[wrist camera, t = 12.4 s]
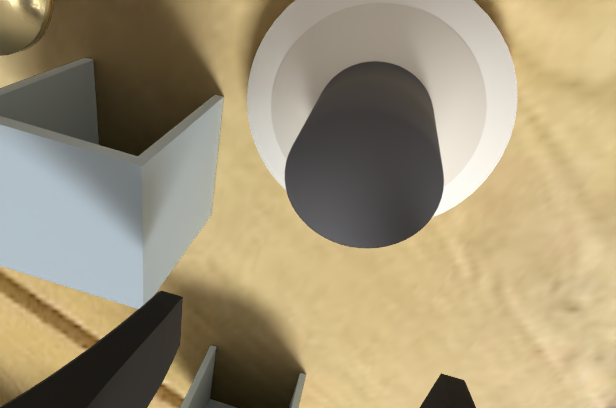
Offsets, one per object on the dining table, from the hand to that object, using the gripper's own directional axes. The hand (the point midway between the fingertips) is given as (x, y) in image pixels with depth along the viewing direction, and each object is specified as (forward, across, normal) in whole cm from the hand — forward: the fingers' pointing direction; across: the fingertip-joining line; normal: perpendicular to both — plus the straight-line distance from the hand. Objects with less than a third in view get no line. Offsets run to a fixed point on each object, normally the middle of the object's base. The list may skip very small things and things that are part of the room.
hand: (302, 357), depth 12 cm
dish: (+8, 0, -5) cm, 9 cm away
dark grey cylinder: (+6, 0, -5) cm, 8 cm away
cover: (+8, +8, -1) cm, 11 cm away
